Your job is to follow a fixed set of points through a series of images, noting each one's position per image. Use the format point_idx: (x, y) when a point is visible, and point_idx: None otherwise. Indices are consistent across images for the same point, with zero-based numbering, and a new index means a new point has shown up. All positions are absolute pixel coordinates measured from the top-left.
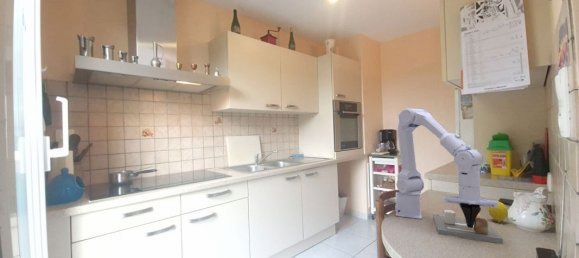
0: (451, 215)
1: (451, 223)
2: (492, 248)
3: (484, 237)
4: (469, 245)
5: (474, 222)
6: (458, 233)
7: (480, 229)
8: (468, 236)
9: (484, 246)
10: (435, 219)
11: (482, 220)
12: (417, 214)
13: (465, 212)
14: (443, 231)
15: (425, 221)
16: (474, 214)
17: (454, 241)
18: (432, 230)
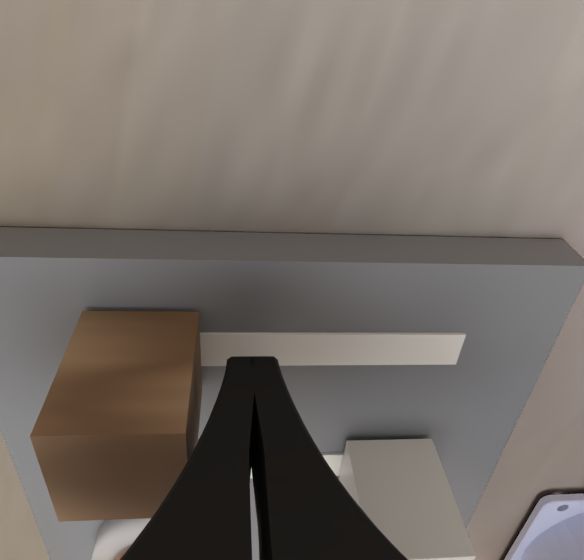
0: (402, 525)
1: (381, 445)
2: (82, 29)
3: (129, 252)
4: (339, 21)
5: (194, 443)
6: (388, 257)
7: (149, 342)
8: (289, 244)
9: (166, 61)
10: (478, 489)
11: (96, 458)
12: (574, 534)
13: (353, 521)
14: (535, 257)
15: (529, 467)
16: (204, 511)
17: (476, 89)
18: (572, 311)
